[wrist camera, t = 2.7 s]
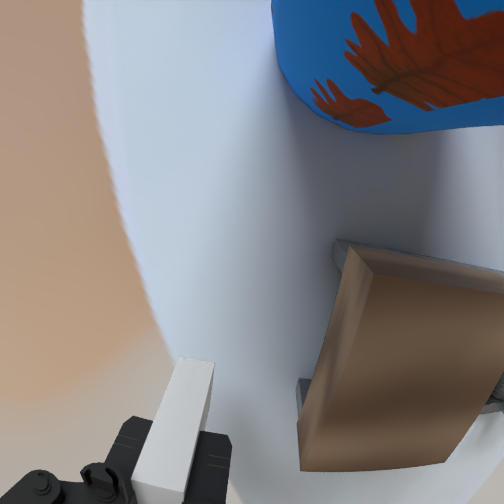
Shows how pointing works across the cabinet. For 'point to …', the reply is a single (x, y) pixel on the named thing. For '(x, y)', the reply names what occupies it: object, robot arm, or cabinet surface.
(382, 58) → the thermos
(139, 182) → the cabinet surface
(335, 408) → the slab
